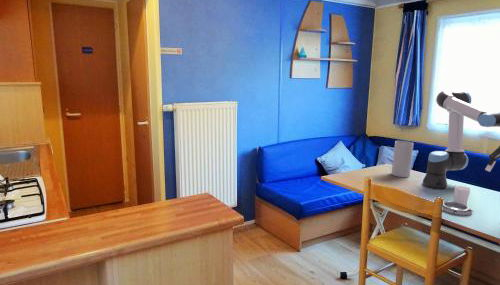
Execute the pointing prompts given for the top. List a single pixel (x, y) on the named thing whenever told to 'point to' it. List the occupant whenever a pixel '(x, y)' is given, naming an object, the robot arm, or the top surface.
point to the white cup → (461, 194)
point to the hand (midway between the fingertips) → (495, 174)
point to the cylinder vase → (402, 158)
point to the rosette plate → (456, 209)
